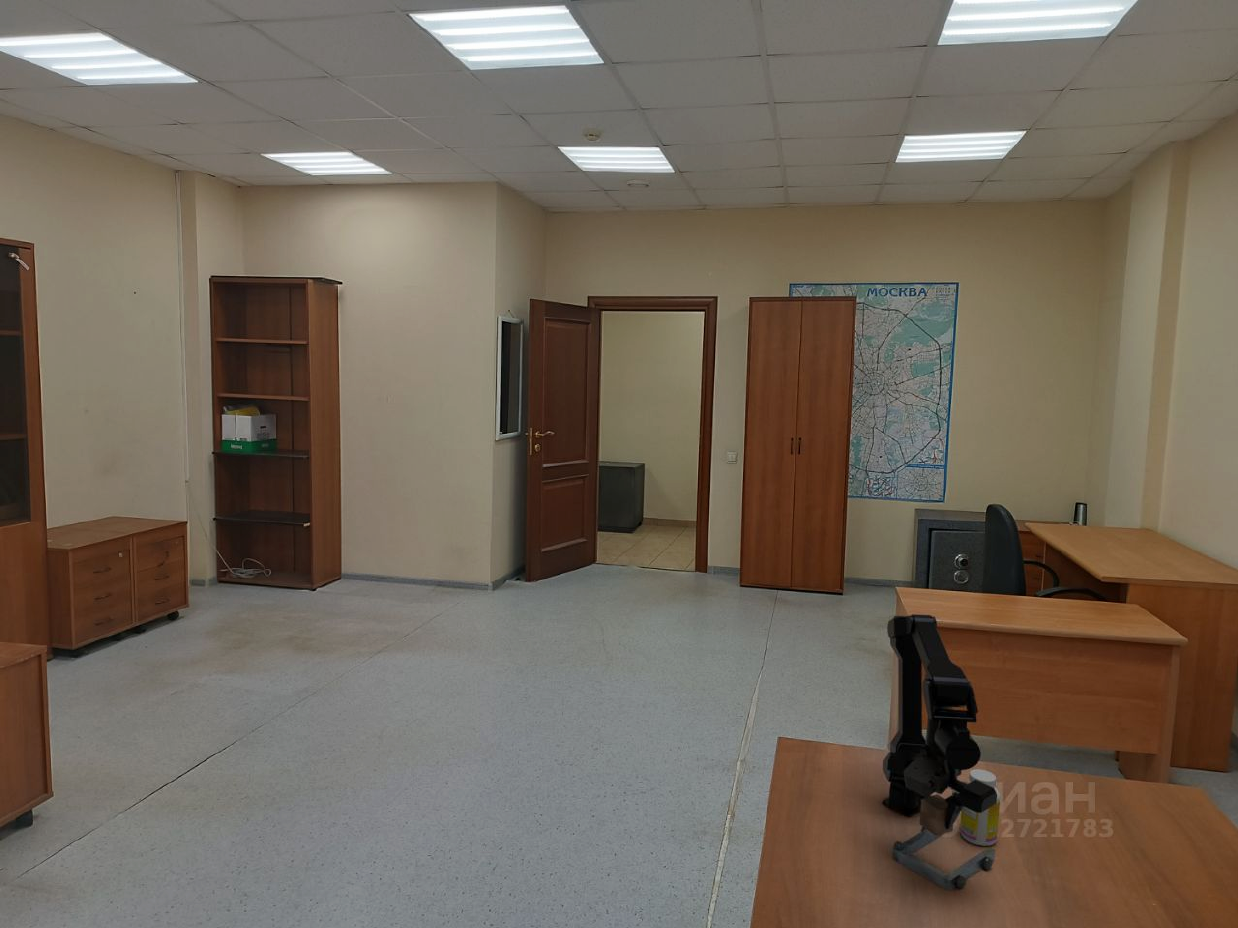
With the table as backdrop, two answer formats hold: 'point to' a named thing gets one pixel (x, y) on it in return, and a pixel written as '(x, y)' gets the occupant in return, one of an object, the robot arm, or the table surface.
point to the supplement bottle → (981, 815)
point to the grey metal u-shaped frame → (947, 881)
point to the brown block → (934, 814)
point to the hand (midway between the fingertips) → (936, 822)
